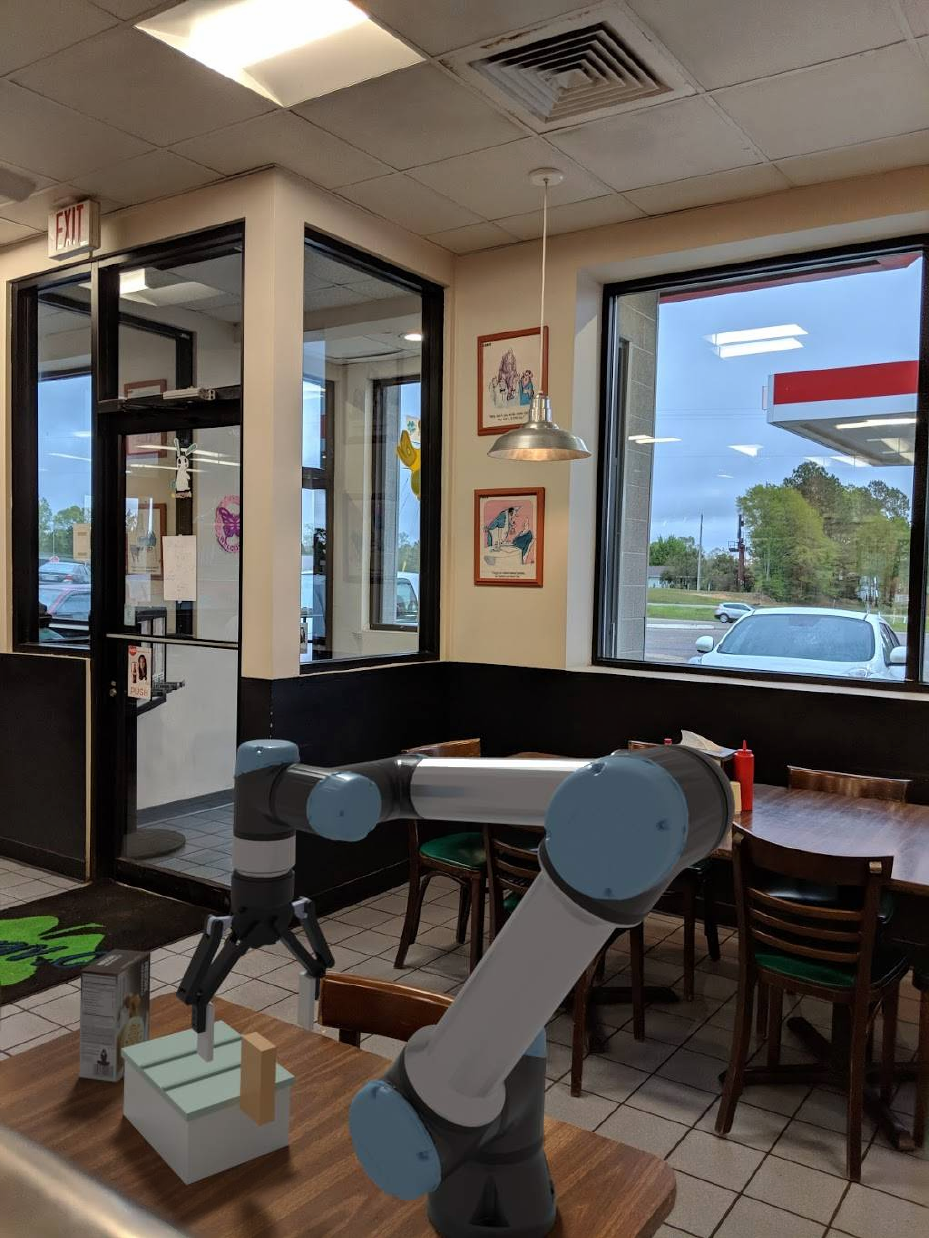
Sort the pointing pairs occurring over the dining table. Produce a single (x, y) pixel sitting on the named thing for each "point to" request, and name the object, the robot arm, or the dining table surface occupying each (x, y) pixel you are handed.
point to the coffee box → (113, 1012)
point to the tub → (202, 1131)
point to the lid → (212, 1073)
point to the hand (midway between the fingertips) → (257, 1041)
